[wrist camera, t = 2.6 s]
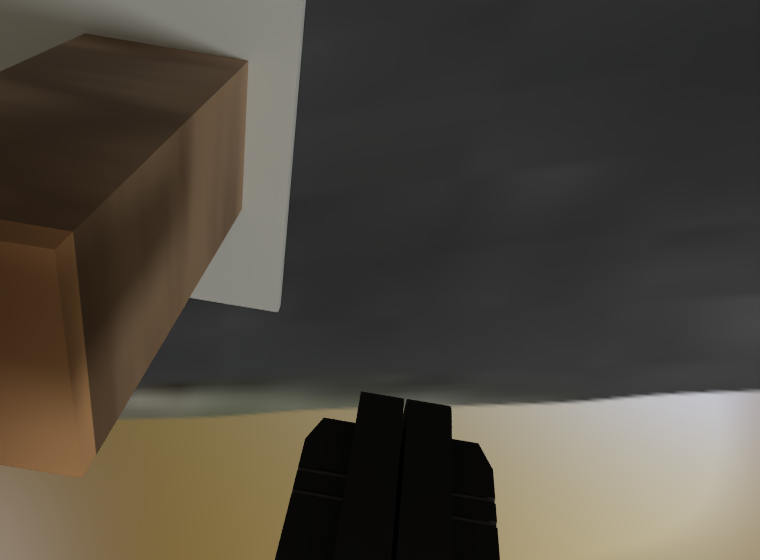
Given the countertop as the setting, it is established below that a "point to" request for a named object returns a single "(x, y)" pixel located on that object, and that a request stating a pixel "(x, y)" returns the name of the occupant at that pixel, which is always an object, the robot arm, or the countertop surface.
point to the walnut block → (104, 228)
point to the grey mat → (263, 111)
